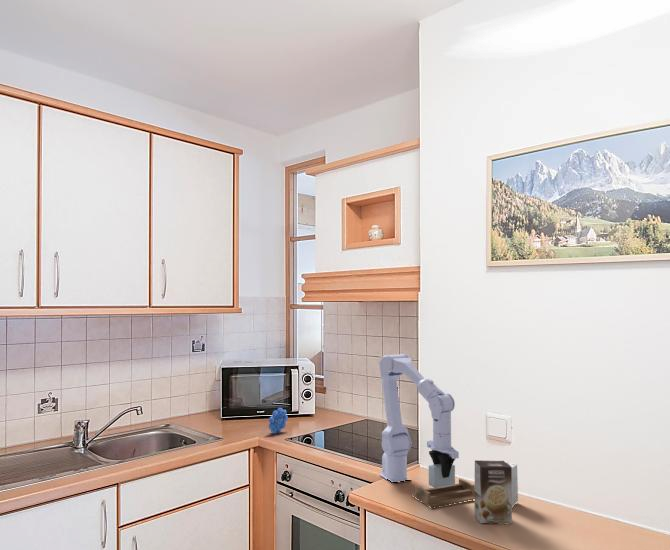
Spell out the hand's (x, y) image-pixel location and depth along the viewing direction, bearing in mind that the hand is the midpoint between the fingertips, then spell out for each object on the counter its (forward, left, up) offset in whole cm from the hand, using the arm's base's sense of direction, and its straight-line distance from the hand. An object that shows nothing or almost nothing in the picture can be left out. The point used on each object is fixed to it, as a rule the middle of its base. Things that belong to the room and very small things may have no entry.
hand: (442, 475), depth 164 cm
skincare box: (+12, +16, -8) cm, 21 cm away
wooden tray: (0, +1, -7) cm, 7 cm away
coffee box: (+19, +4, -8) cm, 21 cm away
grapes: (-101, -24, -8) cm, 104 cm away
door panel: (0, 0, -3) cm, 3 cm away
